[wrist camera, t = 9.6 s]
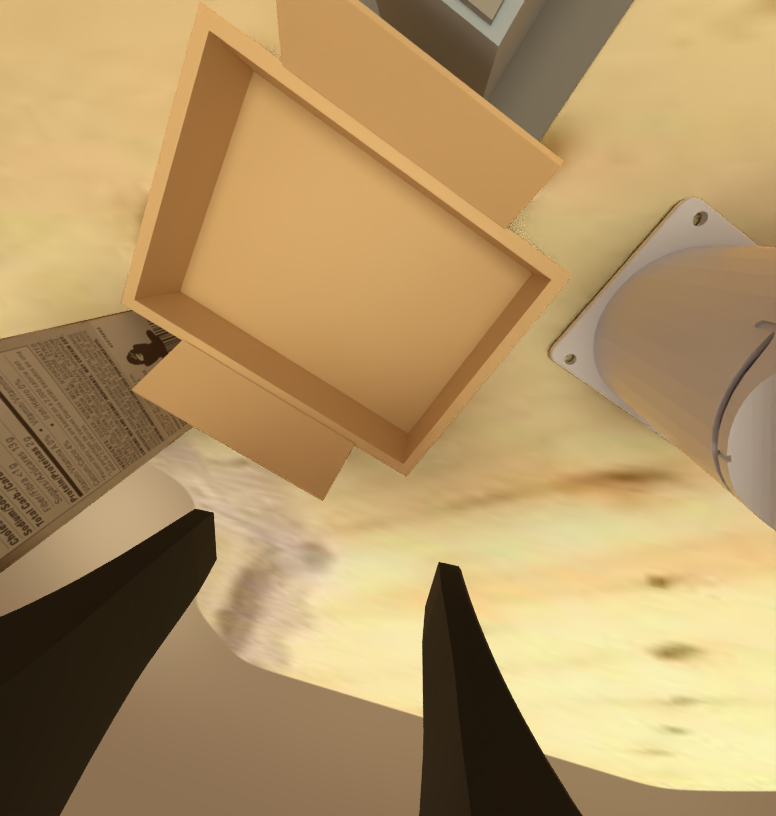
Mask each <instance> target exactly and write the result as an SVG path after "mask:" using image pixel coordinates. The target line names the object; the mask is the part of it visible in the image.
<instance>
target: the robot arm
mask: <svg viewBox="0 0 776 816" xmlns="http://www.w3.org/2000/svg"><path fill="white" fill-rule="evenodd" d="M698 212H699V213H700V214H701V221H700V222H699V224H697V225H696V226H695V225H694V224H693V218H694V216H695V215H696V214H697V213H698ZM569 354H573V355H574V358H573V360H572V361H570V362H565V358H566V356H568V355H569ZM549 355H550V358H551V359H552V360H553V361H554V362H555V363H557V364H558V365H560V366H561V367H563V368H564V369H566V370H567V371H568V372H570V373H571V374H573V375H574V376H576V377H577V378H578V379H580V380H581V381H583V382H584V383H586V384H587V385H589V386H590V387H591V388H593V389H594V390H596V391H597V392H599V393H600V394H602V395H603V396H604V397H606V398H607V399H609V400H610V401H612V402H613V403H614V404H616V405H617V406H619V407H620V408H622V409H623V410H625V411H626V412H627V413H629V414H630V415H632V416H633V417H635V418H636V419H637V420H639V421H640V422H642V423H643V424H645V425H646V426H648V427H649V428H650V429H652V430H653V431H655V432H656V433H658V434H659V435H660V436H662V437H663V438H665V439H666V440H668V441H669V442H671V443H672V444H673V445H675V446H676V447H678V448H679V449H680V450H681V451H682V452H684V453H685V454H686V455H687V456H688V457H689V458H691V459H692V460H693V461H694V462H695V463H696V464H698V465H699V466H700V467H701V468H702V469H703V470H704V471H706V472H707V473H708V474H709V475H710V476H711V477H713V478H714V479H715V480H716V481H717V482H718V483H720V484H721V485H722V486H723V487H724V488H725V489H726V490H728V491H729V492H730V493H731V494H732V495H733V496H735V497H736V498H737V499H738V500H739V501H740V502H742V503H743V504H744V505H745V506H746V507H747V508H748V509H749V510H750V511H752V512H753V513H754V514H755V515H756V516H757V517H759V518H760V519H761V520H762V521H764V522H765V523H766V524H767V525H769V526H770V527H771V528H773V529H774V530H775V531H776V246H758V245H757V244H756V243H755V242H753V241H752V240H751V239H750V238H749V237H747V236H746V235H745V234H744V233H742V232H741V231H740V230H739V229H738V228H736V227H735V226H734V225H733V224H731V223H730V222H729V221H728V220H727V219H725V218H724V217H723V216H722V215H720V214H719V213H718V212H717V211H715V210H714V209H713V208H712V207H711V206H709V205H708V204H707V203H706V202H704V201H703V200H702V199H700V198H698V197H690V198H686V199H684V200H681V201H680V202H679V203H678V204H677V205H676V206H675V207H674V208H673V209H672V210H671V211H670V212H669V214H668V215H667V216H666V217H665V218H664V219H663V220H662V222H661V223H660V224H659V225H658V226H657V227H656V228H655V230H654V231H653V232H652V233H651V234H650V235H649V236H648V238H647V239H646V240H645V241H644V242H643V243H642V244H641V245H640V247H639V248H638V249H637V250H636V251H635V252H634V253H633V255H632V256H631V257H630V258H629V259H628V260H627V261H626V263H625V264H624V265H623V266H622V267H621V268H620V269H619V271H618V272H617V273H616V274H615V275H614V276H613V277H612V278H611V280H610V281H609V282H608V283H607V284H606V285H605V286H604V288H603V289H602V290H601V291H600V292H599V293H598V294H597V296H596V297H595V298H594V299H593V300H592V301H591V302H590V304H589V305H588V306H587V307H586V308H585V309H584V310H583V311H582V313H581V314H580V315H579V316H578V317H577V318H576V319H575V321H574V322H573V323H572V324H571V325H570V326H569V327H568V329H567V330H566V331H565V332H564V333H563V334H562V335H561V337H560V338H559V339H558V340H557V341H556V342H555V343H554V344H553V346H552V347H551V349H550V352H549ZM216 559H217V557H216V541H215V525H214V513H213V512H208V511H204V510H199V509H194V510H193V511H191V512H189V513H188V514H186V515H184V516H183V517H181V518H180V519H178V520H176V521H175V522H173V523H172V524H170V525H169V526H167V527H165V528H164V529H162V530H161V531H159V532H158V533H156V534H154V535H153V536H151V537H149V538H148V539H146V540H145V541H143V542H141V543H140V544H138V545H136V546H135V547H133V548H132V549H130V550H128V551H127V552H125V553H123V554H122V555H120V556H119V557H117V558H115V559H113V560H111V561H110V562H108V563H106V564H104V565H103V566H101V567H99V568H97V569H96V570H94V571H92V572H90V573H89V574H87V575H85V576H84V577H81V578H80V579H78V580H76V581H74V582H72V583H70V584H68V585H67V586H64V587H62V588H61V589H59V590H57V591H55V592H53V593H51V594H49V595H46V596H44V597H42V598H40V599H39V600H36V601H34V602H32V603H30V604H28V605H26V606H24V607H22V608H20V609H17V610H15V611H13V612H10V613H8V614H6V615H4V616H1V617H0V816H60V814H61V812H62V810H63V809H64V806H65V805H66V803H67V801H68V799H69V797H70V795H71V794H72V792H73V790H74V788H75V786H76V785H77V783H78V781H79V779H80V777H81V775H82V774H83V772H84V770H85V768H86V766H87V764H88V763H89V761H90V759H91V757H92V756H93V754H94V752H95V750H96V749H97V747H98V745H99V743H100V742H101V740H102V738H103V736H104V735H105V733H106V731H107V729H108V728H109V726H110V724H111V722H112V721H113V719H114V717H115V716H116V714H117V712H118V711H119V709H120V707H121V706H122V704H123V702H124V701H125V699H126V697H127V695H128V694H129V692H130V690H131V689H132V687H133V686H134V684H135V682H136V681H137V679H138V678H139V676H140V674H141V673H142V672H143V670H144V669H145V667H146V666H147V664H148V663H149V661H150V660H151V658H152V657H153V656H154V654H155V653H156V651H157V650H158V649H159V647H160V646H161V644H162V643H163V641H164V640H165V639H166V637H167V636H168V634H169V633H170V632H171V630H172V629H173V627H174V626H175V625H176V623H177V622H178V621H179V619H180V618H181V616H182V615H183V613H184V612H185V611H186V609H187V608H188V606H189V605H190V603H191V602H192V601H193V599H194V598H195V596H196V595H197V593H198V592H199V590H200V589H201V587H202V585H203V583H204V582H205V580H206V578H207V576H208V574H209V573H210V571H211V569H212V567H213V565H214V563H215V561H216ZM422 659H423V727H424V735H423V764H422V781H421V782H422V783H421V798H420V812H419V816H582V814H581V813H580V811H579V810H578V808H577V807H576V805H575V804H574V802H573V800H572V799H571V798H570V796H569V794H568V792H567V791H566V789H565V787H564V786H563V784H562V783H561V781H560V779H559V778H558V776H557V774H556V773H555V771H554V770H553V768H552V767H551V765H550V763H549V762H548V760H547V758H546V757H545V755H544V753H543V752H542V750H541V748H540V747H539V745H538V743H537V741H536V740H535V738H534V736H533V734H532V732H531V731H530V729H529V727H528V725H527V724H526V722H525V720H524V718H523V716H522V714H521V712H520V710H519V709H518V707H517V705H516V703H515V701H514V699H513V697H512V695H511V693H510V691H509V689H508V687H507V685H506V683H505V681H504V679H503V677H502V675H501V672H500V670H499V668H498V666H497V664H496V662H495V660H494V657H493V655H492V653H491V650H490V648H489V646H488V643H487V641H486V639H485V636H484V634H483V631H482V629H481V626H480V624H479V621H478V619H477V616H476V614H475V611H474V608H473V605H472V603H471V600H470V597H469V594H468V591H467V588H466V585H465V582H464V578H463V575H462V571H461V569H460V568H459V566H455V565H450V564H446V563H441V562H439V563H438V566H437V570H436V573H435V576H434V579H433V583H432V586H431V589H430V593H429V596H428V599H427V602H426V606H425V616H424V628H423V641H422Z"/></svg>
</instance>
